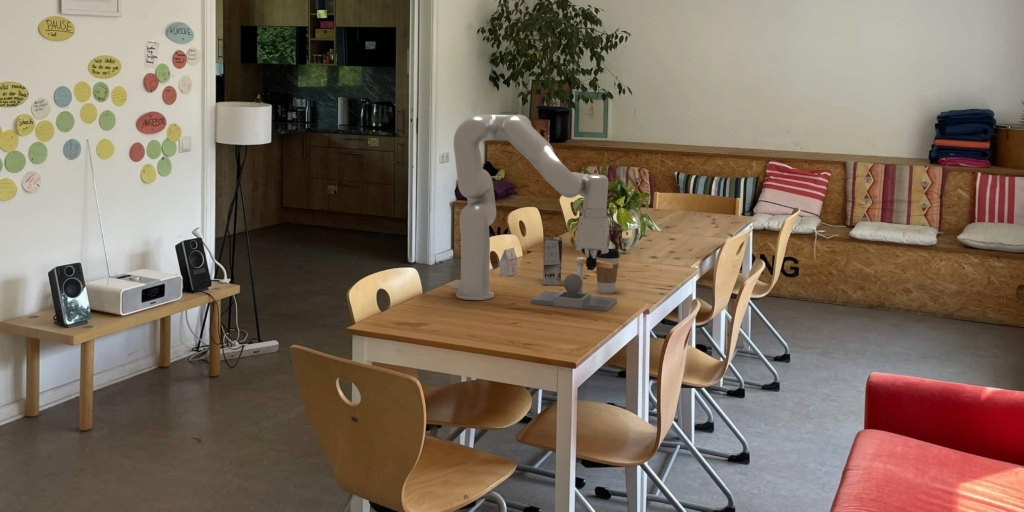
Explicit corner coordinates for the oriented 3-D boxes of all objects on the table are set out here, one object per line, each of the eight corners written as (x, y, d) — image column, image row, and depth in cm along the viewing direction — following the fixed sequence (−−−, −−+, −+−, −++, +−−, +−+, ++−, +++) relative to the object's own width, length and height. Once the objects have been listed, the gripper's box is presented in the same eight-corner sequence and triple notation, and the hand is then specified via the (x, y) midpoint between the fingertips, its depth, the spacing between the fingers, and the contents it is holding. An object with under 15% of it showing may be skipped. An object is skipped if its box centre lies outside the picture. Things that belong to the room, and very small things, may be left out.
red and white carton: (499, 276, 353) (500, 249, 351) (508, 273, 359) (509, 247, 357) (508, 277, 351) (508, 250, 349) (517, 274, 357) (517, 248, 355)
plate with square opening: (530, 303, 308) (531, 266, 306) (544, 295, 321) (545, 259, 319) (605, 311, 299) (607, 273, 297) (616, 302, 312) (618, 265, 310)
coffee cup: (600, 294, 323) (602, 251, 321) (589, 289, 331) (591, 247, 329) (622, 293, 327) (624, 250, 324) (611, 288, 334) (612, 246, 332)
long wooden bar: (608, 268, 303) (608, 264, 303) (574, 262, 314) (575, 257, 313) (613, 267, 305) (613, 263, 305) (580, 261, 315) (580, 257, 315)
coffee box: (561, 285, 338) (562, 240, 335) (543, 284, 338) (544, 240, 336) (560, 280, 347) (561, 236, 344) (542, 279, 347) (543, 236, 345)
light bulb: (565, 306, 305) (566, 276, 303) (561, 302, 311) (561, 272, 309) (583, 306, 306) (584, 275, 304) (578, 302, 312) (579, 272, 310)
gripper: (568, 212, 303) (565, 268, 306) (614, 216, 298) (610, 274, 301) (575, 210, 310) (572, 265, 313) (620, 214, 305) (616, 270, 308)
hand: (590, 269), depth 307 cm, fingers closed
